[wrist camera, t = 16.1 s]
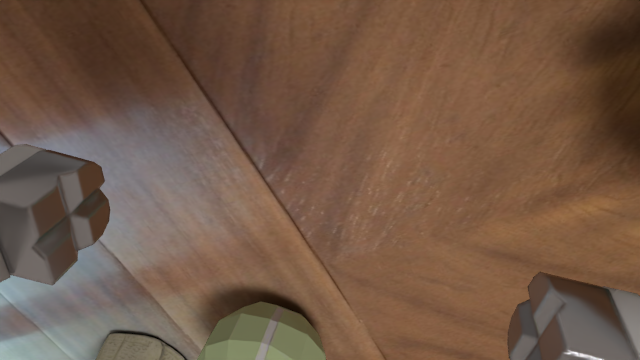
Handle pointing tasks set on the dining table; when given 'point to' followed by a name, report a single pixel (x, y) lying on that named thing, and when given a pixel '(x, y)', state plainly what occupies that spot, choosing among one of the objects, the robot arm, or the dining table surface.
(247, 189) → the dining table surface
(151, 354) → the sculpture
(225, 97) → the dining table surface
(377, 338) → the dining table surface
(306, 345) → the tennis ball
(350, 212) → the dining table surface
